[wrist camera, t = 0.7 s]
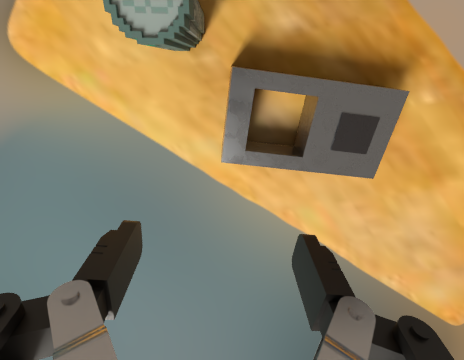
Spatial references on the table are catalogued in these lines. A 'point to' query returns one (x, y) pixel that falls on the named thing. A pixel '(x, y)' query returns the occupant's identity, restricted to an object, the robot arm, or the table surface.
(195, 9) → the can
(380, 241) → the table surface
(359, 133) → the block with square hole
